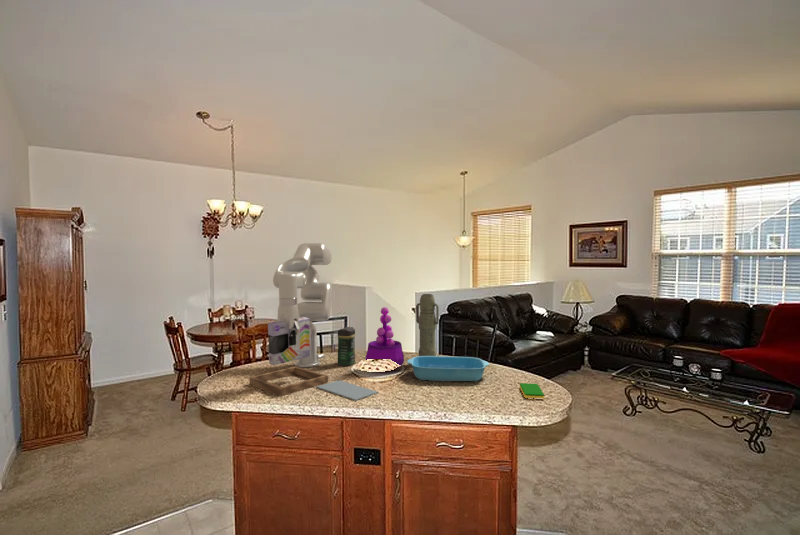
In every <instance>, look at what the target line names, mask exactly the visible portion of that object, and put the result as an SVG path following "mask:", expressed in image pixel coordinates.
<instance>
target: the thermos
mask: <svg viewBox="0 0 800 535" xmlns="http://www.w3.org/2000/svg"><path fill="white" fill-rule="evenodd" d="M434 296H435V295H433V294H432V293H423V294H421V295H420V299H419V302H418V303H416V306H415V317H416V318H415V320H416V324H418V330H419V348H418V356H437V349H436V328H437V325H439V322H440V321H439V315H440V314H439V311H440V310H439V309H440V307H439V305H438V304H437V303H436V300H435V297H434ZM435 307H436V308H435ZM435 310H436V311H435ZM435 312H436V314H435Z"/></svg>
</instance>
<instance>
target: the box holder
mask: <svg viewBox="0 0 800 535" xmlns="http://www.w3.org/2000/svg"><path fill="white" fill-rule="evenodd" d="M293 375H297V376H300V377H304V378H306V377H307V378H306V380H303V381H298V382H295V383H291V384H289V385H284V386H280V385H278V384H274V383H272V382H269V381H268V380H270V381H273V380H272V379H274V380H277V379H281V378H285V377H289V376H293ZM276 378H277V379H276ZM309 378H310V379H309ZM327 382H328V383H329V375H328V374H324V373H320V372H316V371H314V370H309V369H306V368H305V367H297V366H295V365H294V366H292V367H287V368H284V369H279V370H275V371H271V372H267V373H262V374H257V375H254V376H250V377H249V385H250V384H252V385H251V386H253V385H254V386H253V387H255V386H257V387H256V388H258V387H259V388H258V389H260V388H262V389H261V390H263V389H264V390H263V391H265V390H267V391H266V392H268V391H269V392H268V393H271V394H273V393H274V394H273V395H276V396H278V397H284V396H287V395H291V394H293V393H297V391H298V392H301V391H304V389H305V390H307V388H308V389H311V388H315V387H317V385H318V386H320V385H321V384H322V385H324V383H325V384H327ZM314 386H315V387H314ZM300 390H301V391H300Z"/></svg>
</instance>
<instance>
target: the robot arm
mask: <svg viewBox="0 0 800 535" xmlns="http://www.w3.org/2000/svg"><path fill="white" fill-rule="evenodd" d="M332 259H333V257H332V252H331V250H330V249H329V248H328V246H327V245H325V244H324V243H322V242H321V243H320V242H305V243H301V244H299V245H298V247H297V249H296V251H295V253H294V255H293V257H291V258H290V259H287V260H286V261H284V262H282V263H280V264H279V265H278V266H277V268H276V270H275V272H274V274H273V277H272V278H273V279H272V282H273V286H274V287H275V288H277V289H278V301H279V303H278V308H277V319H276V320H277V321H283V322H285V323H286V329H287V330H289V333H290V336H289V346H292V345H296V335H297V333H298V331H299V330H300V328H299V318H302V317H306V318H309V322H310V356H309V357H306V358H302V359H298V360H295V361H294V362H293V364H294V367H295V366H297V367H300V368H313V367H317V366H319V365H320V364H321V361H320V359H324V358H325V354H323V353H321V354H318V353H317V350H318V349H317V346H318V345H317V328H316V326H315V324H314V322H325V321H328V320H329V319H330V317H331V313H332V312H331V310H332V300H333V288H332V285H331V284H330V283H328V282H320V274H319V272H318V271H317V269H316V268H315V267H314V266H328V265H329V264H331V262H332ZM298 289H300V298H301V299H302V300H303V301H301V302H298ZM277 321H276V322H277ZM293 327H294V328H293ZM291 328H293V329H291ZM292 330H294V331H293V332H292Z"/></svg>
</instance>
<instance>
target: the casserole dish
mask: <svg viewBox="0 0 800 535" xmlns="http://www.w3.org/2000/svg"><path fill="white" fill-rule="evenodd" d="M406 363H407V364H409V365H411V368H412V371H413V374H414V376H415V378H417V379H418V380H421V381H426V380H428V381H430V382H431V381H432V382H451V381H475V382H478V381H479V380H481V379H482V378H483V376H484V373H485V369H486V367H489V365H490V363H489V362H488V361H486V360H483V359H482V358H479V357H473V356H472V357H471V356H451V355H450V356H449V355H448V356H443V355H441V356H439V355H436V356H419V355H418V356H414V357H411V358H409V359H408V360H406Z"/></svg>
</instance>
